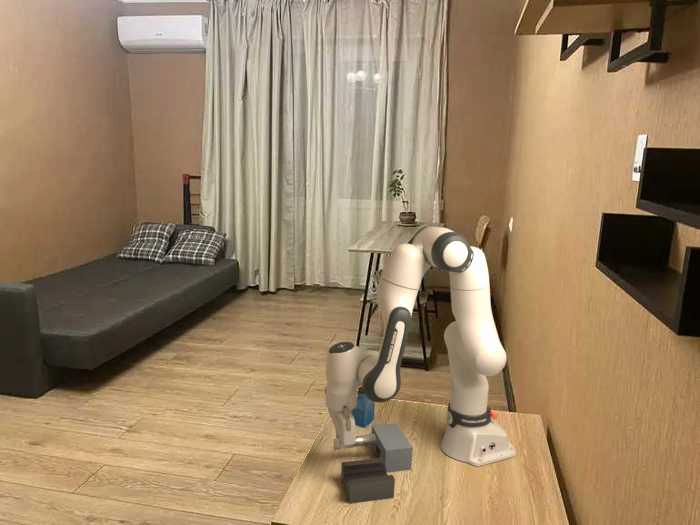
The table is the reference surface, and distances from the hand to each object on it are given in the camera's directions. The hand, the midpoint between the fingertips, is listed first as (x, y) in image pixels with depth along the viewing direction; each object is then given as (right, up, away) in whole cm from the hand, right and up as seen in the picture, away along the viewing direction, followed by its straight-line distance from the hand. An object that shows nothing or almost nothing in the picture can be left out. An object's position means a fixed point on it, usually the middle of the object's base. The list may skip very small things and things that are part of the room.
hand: (341, 442), depth 151 cm
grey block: (+15, -6, +5) cm, 17 cm away
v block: (+7, -9, -10) cm, 15 cm away
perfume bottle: (+6, -2, +25) cm, 26 cm away
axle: (+4, -1, +1) cm, 4 cm away
